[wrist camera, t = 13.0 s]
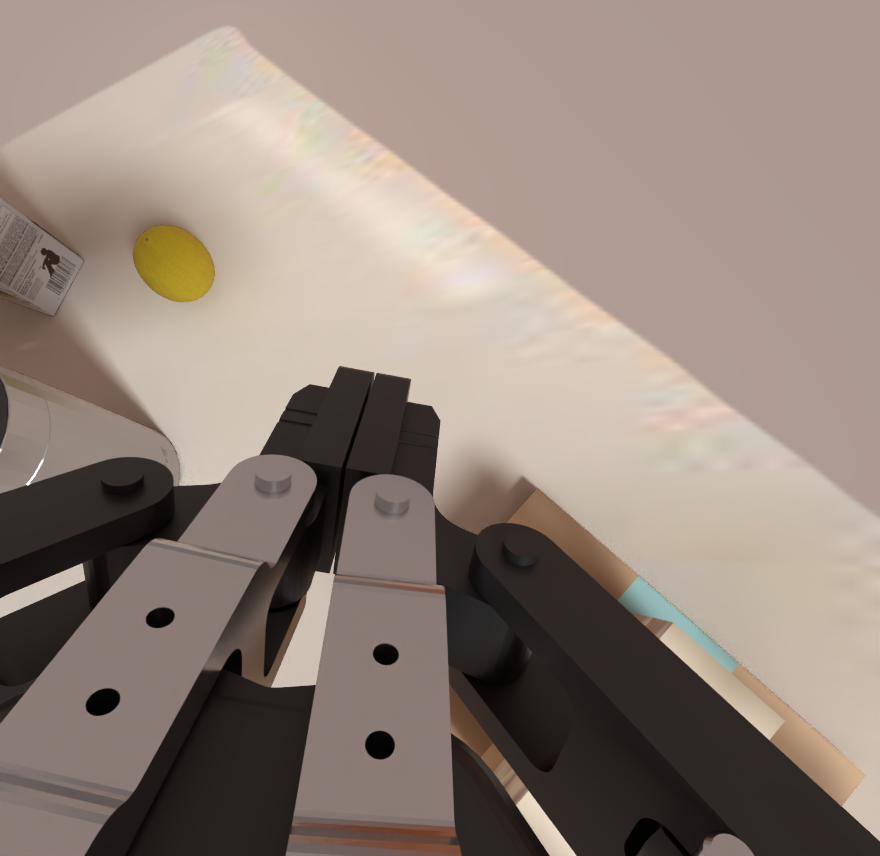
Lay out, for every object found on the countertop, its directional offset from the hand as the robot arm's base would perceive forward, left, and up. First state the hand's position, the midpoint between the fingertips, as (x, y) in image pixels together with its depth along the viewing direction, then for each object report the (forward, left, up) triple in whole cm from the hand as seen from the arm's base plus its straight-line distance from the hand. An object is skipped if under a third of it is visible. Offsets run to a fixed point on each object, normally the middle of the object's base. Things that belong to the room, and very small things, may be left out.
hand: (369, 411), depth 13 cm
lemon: (-24, +23, -34) cm, 48 cm away
